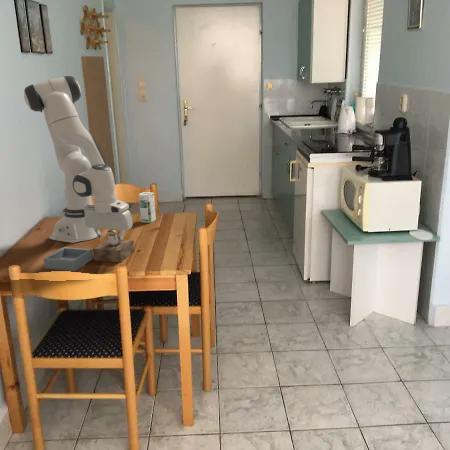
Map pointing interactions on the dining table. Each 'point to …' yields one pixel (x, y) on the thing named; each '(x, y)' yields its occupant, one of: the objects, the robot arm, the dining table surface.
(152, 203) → the syrup box
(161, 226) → the dining table surface
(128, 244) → the walnut block
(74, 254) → the grey tray
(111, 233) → the metal pin
